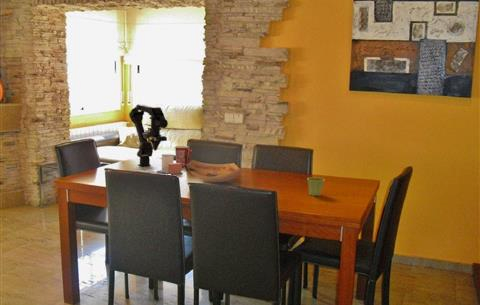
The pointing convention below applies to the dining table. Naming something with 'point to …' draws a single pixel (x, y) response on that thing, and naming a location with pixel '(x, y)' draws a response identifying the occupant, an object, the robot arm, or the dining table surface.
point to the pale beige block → (167, 160)
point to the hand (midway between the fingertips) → (155, 150)
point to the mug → (182, 155)
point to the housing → (172, 169)
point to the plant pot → (315, 186)
